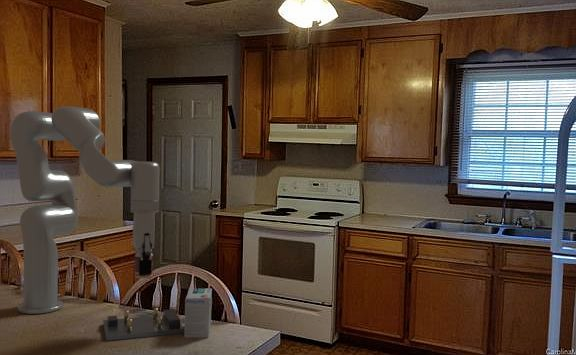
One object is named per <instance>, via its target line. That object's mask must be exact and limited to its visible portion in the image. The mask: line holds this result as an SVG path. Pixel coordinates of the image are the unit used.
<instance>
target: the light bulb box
mask: <svg viewBox="0 0 576 355" xmlns="http://www.w3.org/2000/svg"><path fill="white" fill-rule="evenodd" d="M212 291H213V289H212V288H201V287H200V288H194V287H193V288H188V290H187V294H186V297H184V298H185V299H184V333H183V335H184V336H183V337H184V338H186V339H187V338H191V339H192V338H204V339H205V338H209V336H210V330H211V325H212V323H211V322H212V295H213V294H212V293H213V292H212Z"/></svg>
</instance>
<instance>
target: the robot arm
mask: <svg viewBox="0 0 576 355" xmlns="http://www.w3.org/2000/svg"><path fill="white" fill-rule="evenodd" d="M100 128H101V120H100V117H99V115H98V114H97V112H95V110H93V109H91V108H87V107H80V106H79V107H78V106H72V105H71V106H69V105H64V106H59V107H58V108H56V109H55V110H54V111H53V112H47V111H46V112H45V111H38V110H37V111H36V110H35V111H33V110H32V111H24V112H20V113H19V114H18V115H16V116H15V118H14V119H13V120H12V122H11V124H10V131H9V134H10V135H9V136H10V142H11V145H12V148H13V151H14V154H15V158H16V163H17V171H18V178H19V179H18V180H19V185H20V191H21V193H22V196H23V198H24V199H25V200H27V201H30V202H45V201H46V202H47V201H50V202H51V204H41V205H35V206H30V207H28V208H27V209H25V210H24V211H23V212H22V213H21V215H20V219H19V224H20V225H19V226H20V232H21V236H22V243H23V281H22V282H23V291H22V292H23V295H22V300H23V302H21V303H19V304H18V305H17V311H18V312H19V313H22V314H27V315H28V314H29V315H30V314H32V315H34V314H37V315H38V314H46V313H51V312H55V311H58V310H61V309H62V308H63V307H64V306H63V305H64V302H63V301H62V300H59V299H58V294H59V293H58V290H59V289H58V285H59V284H58V283H59V280H58V278H59V277H58V276H59V273H58V272H59V260H58V259H59V253H58V252H59V251H58V246H57V244H56V242H55V240H54V239H53V237H52V236H57V235H62V234H68V233H70V232H71V233H72V232H73V231H74V230H75V229H76V228H77V225H78V223H79V212H78V202H77V198H76V190H75V185H74V182H73V179H72V178H71V176H70V175H69V173H67V172H66V171H63V170H58V169H53V170H52V169H50V167H49V162H48V161H49V159H48V155H47V152H45V151H46V150H44V148H43V146H42V145H41V144H40V143H39V140H40V141H52V142H53V141H58V142H60V141H61V142H63V141H67V142H68V143H69V144H70V145H71V146H72V147H73V148H74V149H75V150H76V151H78V153H79V154H78V157H79V162H80V165H81V168H82V170H83V171H84V173H85V174H86V175H88V177H90V179H92V180H93V182H95V183H96V184H98V185H99V186H101V187H102V188H103V187H104V188H129V187H130V213H133V222H132V242H131V243H132V246H133V248H134V250H135V249H136V250H138V248H140V260H139V275H150V274H151V265H152V260H151V253H152V252H151V249H152V250H153V249H154V247H155V239H156V237H155V236H156V235H155V234H156V233H155V231H156V228H155V227H156V220H155V219H156V217H155V215H156V213H159V212H160V177H161V176H160V175H161V174H160V173H161V172H160V171H161V168H160V164H159V163H157V162H155V161H136V160H131V159H109V158H107V157H106V156H105V155H104V154H103V153H102V152H101V149H102V148H103V147H104V144H105V141H106V137H105V134H104V133H103V131H102V130H100ZM142 247H145V249H142ZM143 251H145V252H143Z"/></svg>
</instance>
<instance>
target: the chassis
mask: <svg viewBox="0 0 576 355" xmlns="http://www.w3.org/2000/svg"><path fill="white" fill-rule="evenodd" d="M158 311H159V308H157V307H154V308H153V314H152V315H150V316H149V315H148V316H136V317H130V314H129V313H130V312H129V310H128V309H126V310H124V312H123V313H124V315H123V317H124V318H118V316H117V315H108V316H107V319H104V320H103V321H102V324H103V331H104V336H105V340H106V342H109V341H121V340H128V339H139V338H149V337H161V336H169V335H180V334H184V329H185V327H184V326H183V325H182V323H181V319H180V317H179V316H178V314H177V312H176V311H175V309H164V310H163V311H162V314H161V315H159V312H158Z"/></svg>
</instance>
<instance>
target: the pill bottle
mask: <svg viewBox="0 0 576 355" xmlns="http://www.w3.org/2000/svg"><path fill="white" fill-rule="evenodd" d="M142 249H145V247H142ZM152 250H153V249H151V260H152V265H151V274H150V275H139V260H140V248H138V250H137V249H136V253H135V255H134V277H135V278H137V279H150V278H152V277H153V271H154V270H153V269H154V268H153V265H154V264H153V261H154V254H153V253H152ZM143 252H145V251H143Z"/></svg>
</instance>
